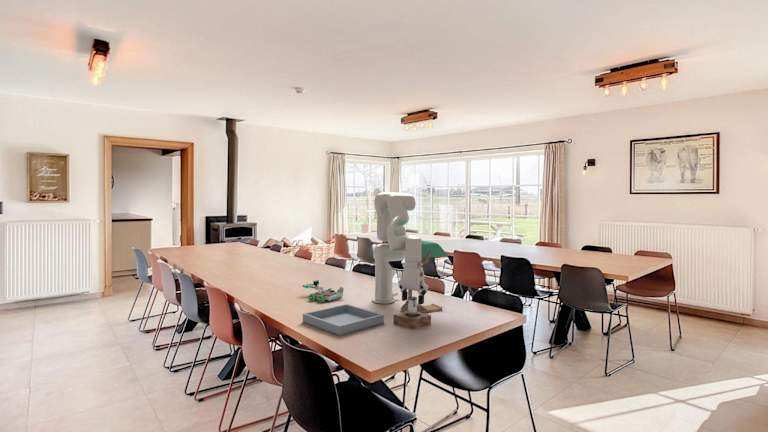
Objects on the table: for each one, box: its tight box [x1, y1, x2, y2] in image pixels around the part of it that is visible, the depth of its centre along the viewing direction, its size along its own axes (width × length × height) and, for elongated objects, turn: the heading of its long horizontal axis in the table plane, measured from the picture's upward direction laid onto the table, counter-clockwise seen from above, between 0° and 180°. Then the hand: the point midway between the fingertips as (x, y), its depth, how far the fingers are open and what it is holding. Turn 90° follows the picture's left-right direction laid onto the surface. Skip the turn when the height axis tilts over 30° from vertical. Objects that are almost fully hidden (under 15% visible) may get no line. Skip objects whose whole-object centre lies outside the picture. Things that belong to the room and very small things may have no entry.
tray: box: [302, 303, 385, 337], centre depth 192 cm, size 26×26×4 cm
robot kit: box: [302, 279, 344, 304], centre depth 240 cm, size 19×25×9 cm
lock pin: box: [407, 295, 418, 317], centre depth 192 cm, size 4×4×12 cm
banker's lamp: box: [400, 240, 449, 314], centre depth 215 cm, size 16×21×35 cm
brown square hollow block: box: [392, 311, 432, 330], centre depth 193 cm, size 12×12×4 cm
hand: (412, 302), depth 192 cm, fingers open, 9 cm apart
